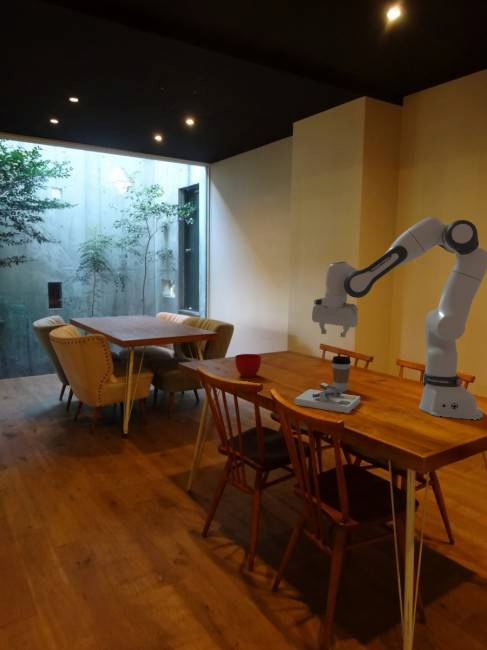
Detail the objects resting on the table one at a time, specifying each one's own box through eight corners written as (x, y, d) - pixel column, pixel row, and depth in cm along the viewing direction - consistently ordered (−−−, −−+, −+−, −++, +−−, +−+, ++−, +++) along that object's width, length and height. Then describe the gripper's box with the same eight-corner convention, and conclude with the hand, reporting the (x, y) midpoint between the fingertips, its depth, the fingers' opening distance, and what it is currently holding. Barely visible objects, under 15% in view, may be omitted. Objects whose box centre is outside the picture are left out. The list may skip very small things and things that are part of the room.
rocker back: (342, 393, 188) (343, 390, 188) (339, 395, 185) (340, 392, 184) (322, 385, 192) (323, 382, 192) (319, 387, 189) (320, 384, 188)
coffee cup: (336, 392, 201) (337, 359, 199) (327, 387, 209) (328, 355, 207) (353, 391, 203) (354, 358, 201) (344, 386, 211) (345, 354, 209)
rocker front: (337, 392, 181) (336, 389, 181) (334, 395, 177) (333, 391, 177) (316, 395, 185) (315, 392, 185) (312, 397, 182) (312, 394, 182)
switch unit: (360, 402, 187) (360, 388, 186) (348, 413, 173) (349, 398, 172) (309, 394, 198) (309, 381, 197) (294, 404, 184) (295, 390, 183)
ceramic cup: (262, 371, 240) (262, 352, 239) (260, 379, 224) (260, 359, 222) (237, 370, 242) (237, 352, 240) (233, 378, 225) (233, 358, 224)
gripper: (362, 304, 181) (359, 338, 183) (319, 299, 195) (317, 331, 197) (353, 304, 177) (351, 340, 179) (310, 300, 191) (308, 332, 193)
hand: (333, 335), depth 188 cm, fingers open, 8 cm apart
